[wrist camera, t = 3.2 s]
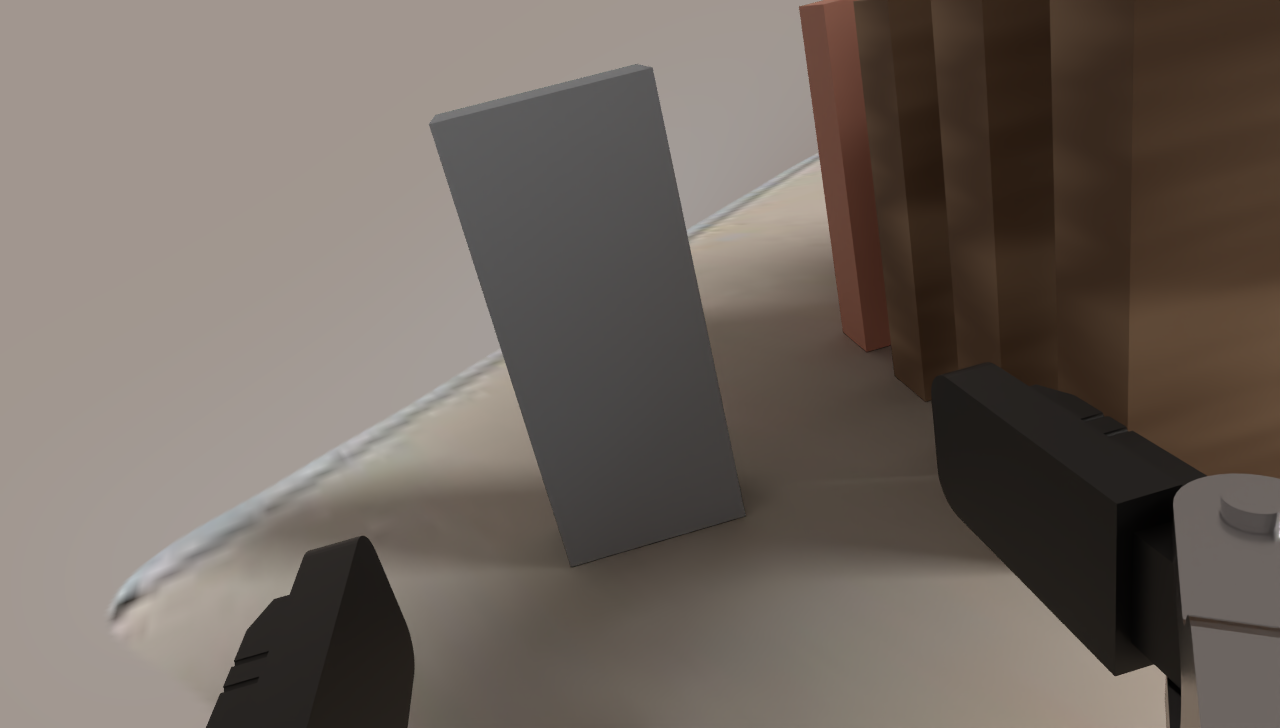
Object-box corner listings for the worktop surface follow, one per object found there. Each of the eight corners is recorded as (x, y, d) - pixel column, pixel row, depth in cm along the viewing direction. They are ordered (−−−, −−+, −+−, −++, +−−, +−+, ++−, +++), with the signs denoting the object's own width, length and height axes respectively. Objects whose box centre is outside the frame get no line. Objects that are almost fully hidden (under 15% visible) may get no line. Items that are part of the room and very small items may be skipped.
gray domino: (564, 523, 24) (435, 115, 20) (724, 476, 25) (636, 64, 20) (571, 567, 22) (428, 123, 18) (745, 515, 23) (652, 67, 18)
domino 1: (843, 332, 32) (799, 6, 27) (962, 298, 33) (939, -29, 28) (866, 352, 30) (823, 4, 25) (993, 316, 31) (974, -34, 26)
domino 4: (1061, 516, 20) (1048, -17, 15) (1250, 460, 20) (1296, -81, 15) (1125, 570, 18) (1135, -26, 13) (1334, 506, 18) (1416, -98, 13)
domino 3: (963, 433, 24) (930, -7, 19) (1121, 388, 24) (1127, -56, 20) (1006, 470, 22) (981, -11, 17) (1178, 419, 22) (1200, -67, 18)
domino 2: (894, 375, 28) (853, 1, 23) (1030, 337, 28) (1016, -40, 24) (925, 401, 26) (887, -2, 21) (1071, 359, 26) (1066, -47, 22)
